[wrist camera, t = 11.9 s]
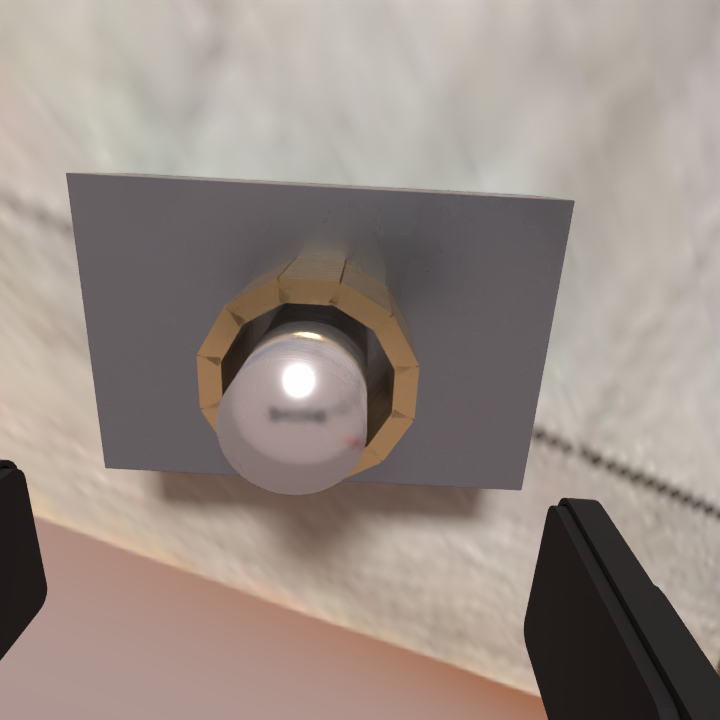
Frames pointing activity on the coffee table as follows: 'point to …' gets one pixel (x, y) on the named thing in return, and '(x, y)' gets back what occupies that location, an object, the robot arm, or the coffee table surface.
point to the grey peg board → (316, 326)
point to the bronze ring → (322, 287)
